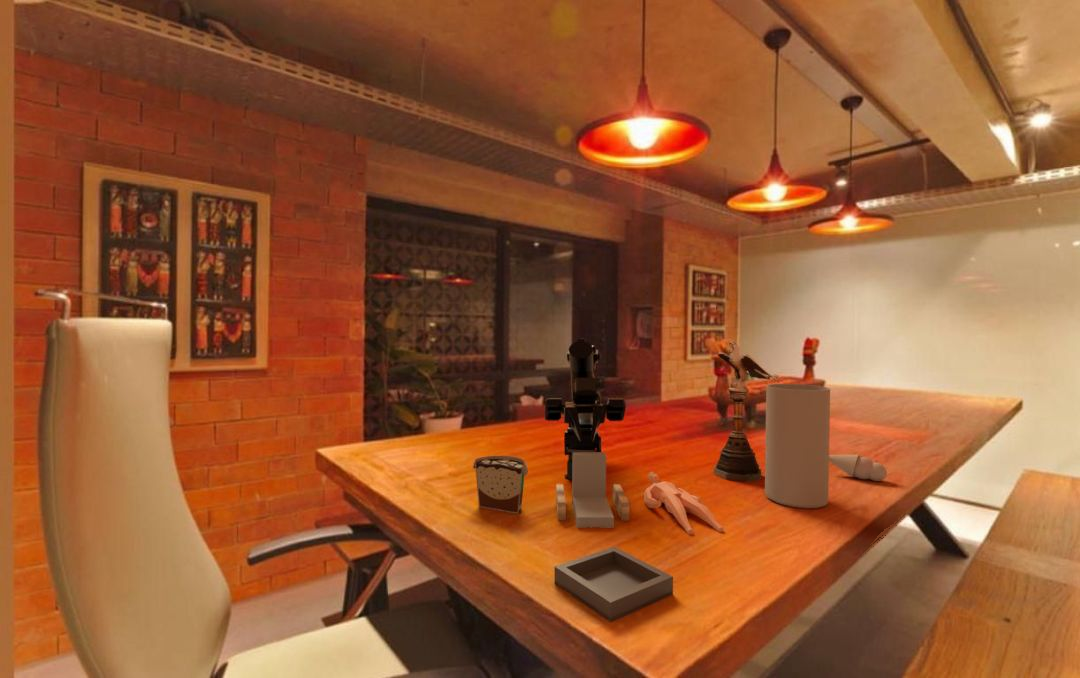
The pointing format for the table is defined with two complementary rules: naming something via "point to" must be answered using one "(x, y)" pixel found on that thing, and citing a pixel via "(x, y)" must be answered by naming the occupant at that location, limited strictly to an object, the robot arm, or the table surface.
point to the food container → (500, 482)
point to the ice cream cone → (859, 466)
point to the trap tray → (613, 582)
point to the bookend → (590, 490)
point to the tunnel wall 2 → (621, 502)
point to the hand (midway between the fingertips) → (586, 440)
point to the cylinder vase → (797, 445)
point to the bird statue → (740, 421)
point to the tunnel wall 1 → (560, 502)
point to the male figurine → (677, 503)
